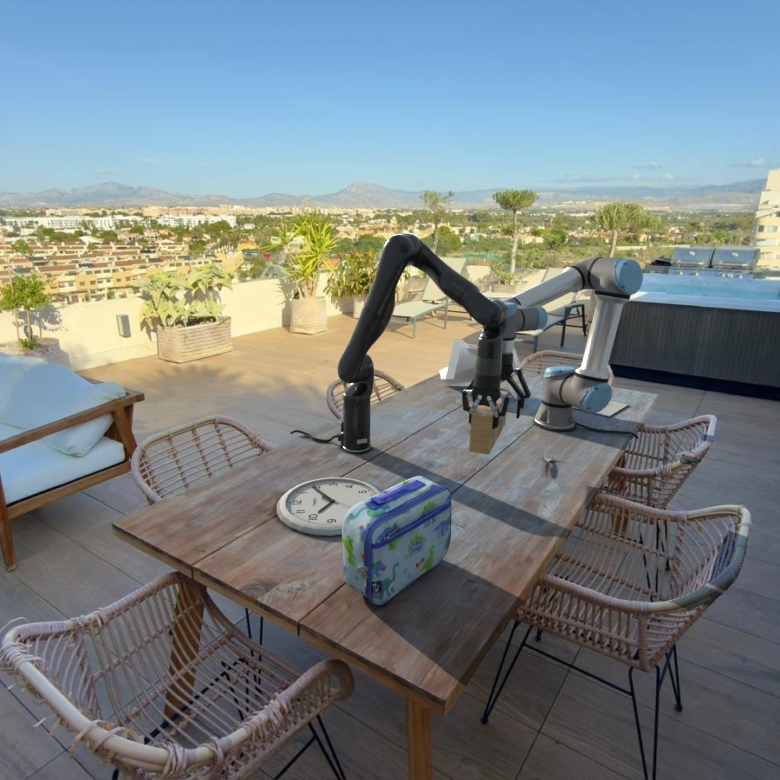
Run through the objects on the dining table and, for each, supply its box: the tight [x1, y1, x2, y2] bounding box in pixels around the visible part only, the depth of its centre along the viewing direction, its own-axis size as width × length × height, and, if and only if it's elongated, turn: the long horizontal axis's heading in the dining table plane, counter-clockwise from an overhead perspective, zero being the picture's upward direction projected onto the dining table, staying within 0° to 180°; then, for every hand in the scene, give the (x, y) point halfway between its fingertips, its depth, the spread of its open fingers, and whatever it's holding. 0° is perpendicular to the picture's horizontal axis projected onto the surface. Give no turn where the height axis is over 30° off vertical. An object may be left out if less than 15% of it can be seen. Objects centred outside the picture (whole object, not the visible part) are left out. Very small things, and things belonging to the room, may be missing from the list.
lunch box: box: [341, 475, 453, 606], centre depth 111 cm, size 26×11×21 cm, turn 134°
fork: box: [544, 449, 554, 474], centre depth 169 cm, size 3×16×2 cm, turn 160°
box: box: [468, 390, 509, 456], centre depth 162 cm, size 27×6×12 cm, turn 158°
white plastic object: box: [438, 338, 526, 400], centre depth 245 cm, size 37×45×31 cm
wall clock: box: [276, 476, 382, 537], centre depth 142 cm, size 30×2×30 cm
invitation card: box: [573, 400, 629, 418], centre depth 226 cm, size 21×1×15 cm
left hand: (483, 426), depth 153 cm, fingers closed on box, 6 cm apart
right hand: (497, 414), depth 172 cm, fingers open, 13 cm apart
